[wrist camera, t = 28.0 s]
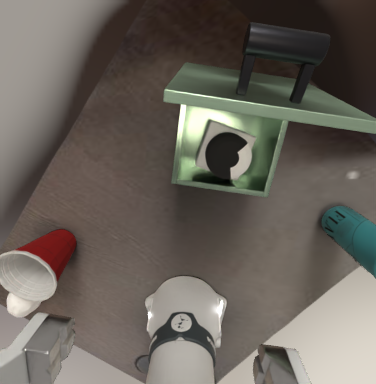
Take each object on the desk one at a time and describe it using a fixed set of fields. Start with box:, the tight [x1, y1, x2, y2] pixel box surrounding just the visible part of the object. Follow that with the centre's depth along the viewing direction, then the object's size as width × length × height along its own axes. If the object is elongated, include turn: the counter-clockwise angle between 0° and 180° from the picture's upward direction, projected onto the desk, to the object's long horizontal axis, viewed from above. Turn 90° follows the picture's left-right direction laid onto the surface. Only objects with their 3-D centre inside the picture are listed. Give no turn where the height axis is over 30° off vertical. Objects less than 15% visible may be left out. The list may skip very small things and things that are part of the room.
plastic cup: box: [0, 229, 76, 301], centre depth 44 cm, size 11×11×12 cm
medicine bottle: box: [195, 120, 256, 180], centre depth 35 cm, size 7×7×12 cm
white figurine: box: [7, 293, 42, 318], centre depth 51 cm, size 6×8×12 cm
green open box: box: [171, 104, 289, 197], centre depth 36 cm, size 16×15×10 cm
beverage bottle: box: [322, 206, 376, 278], centre depth 36 cm, size 6×7×20 cm
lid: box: [163, 22, 376, 134], centre depth 21 cm, size 16×15×5 cm
